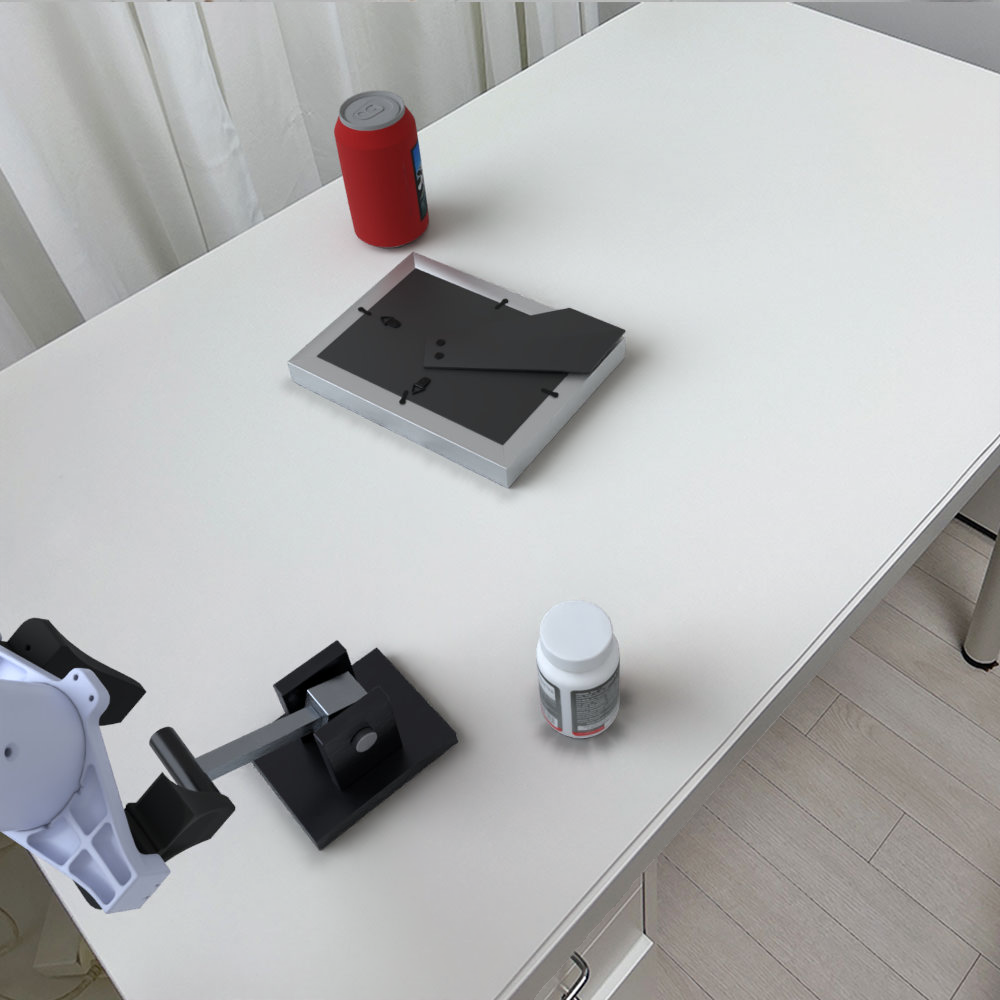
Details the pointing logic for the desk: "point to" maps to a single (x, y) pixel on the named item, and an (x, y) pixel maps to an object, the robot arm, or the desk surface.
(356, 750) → the bracket
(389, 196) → the beverage can
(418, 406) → the picture frame
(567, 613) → the pill bottle
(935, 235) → the desk surface
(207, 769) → the tap lever
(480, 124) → the desk surface
